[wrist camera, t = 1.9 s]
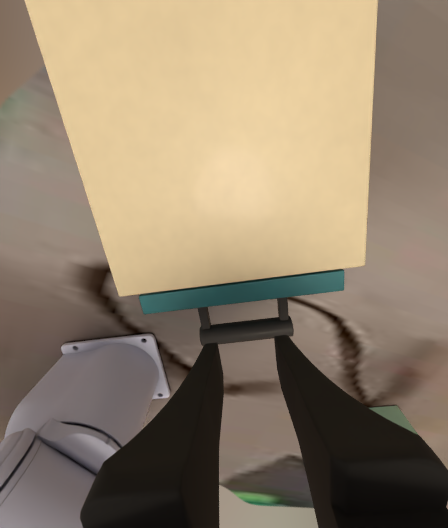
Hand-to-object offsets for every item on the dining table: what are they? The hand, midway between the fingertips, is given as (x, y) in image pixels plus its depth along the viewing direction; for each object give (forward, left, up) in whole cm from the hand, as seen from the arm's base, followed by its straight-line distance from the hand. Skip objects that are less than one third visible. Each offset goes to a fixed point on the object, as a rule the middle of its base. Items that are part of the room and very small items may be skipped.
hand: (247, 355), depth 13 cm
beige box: (0, +11, -10) cm, 15 cm away
